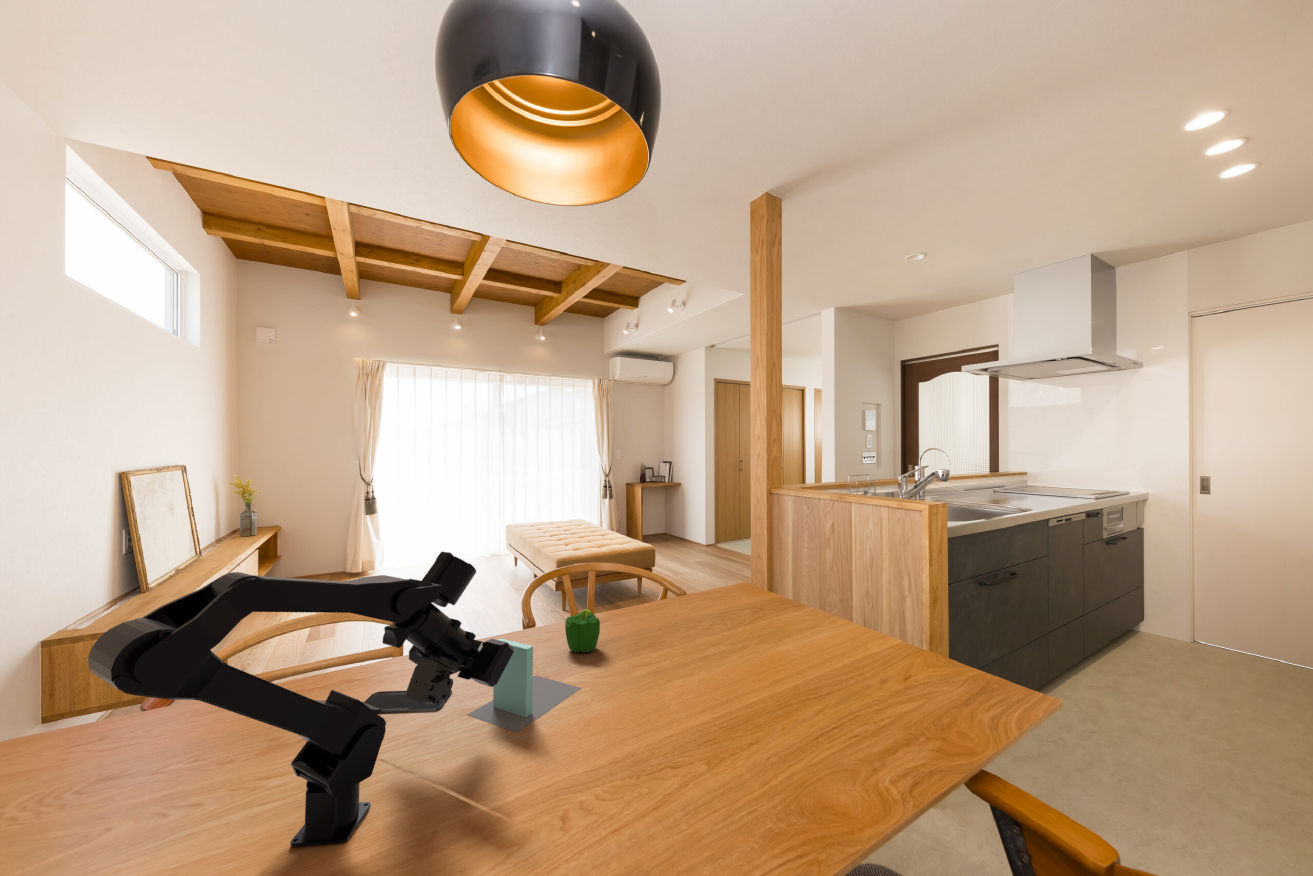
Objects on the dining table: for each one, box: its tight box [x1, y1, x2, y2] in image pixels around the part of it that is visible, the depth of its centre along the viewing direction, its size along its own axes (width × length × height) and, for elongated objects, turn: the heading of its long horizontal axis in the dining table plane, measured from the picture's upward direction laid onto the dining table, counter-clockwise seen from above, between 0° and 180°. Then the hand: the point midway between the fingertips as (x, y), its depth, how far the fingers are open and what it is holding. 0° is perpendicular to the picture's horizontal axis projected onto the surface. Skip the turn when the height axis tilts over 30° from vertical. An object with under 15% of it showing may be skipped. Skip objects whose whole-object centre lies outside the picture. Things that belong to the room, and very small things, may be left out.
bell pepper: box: [564, 608, 601, 653], centre depth 119 cm, size 8×8×10 cm
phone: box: [363, 689, 453, 716], centre depth 92 cm, size 8×1×15 cm
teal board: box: [492, 638, 534, 718], centre depth 90 cm, size 2×8×12 cm, turn 62°
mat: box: [466, 675, 582, 734], centre depth 93 cm, size 18×12×1 cm, turn 152°
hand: (487, 675), depth 84 cm, fingers closed
